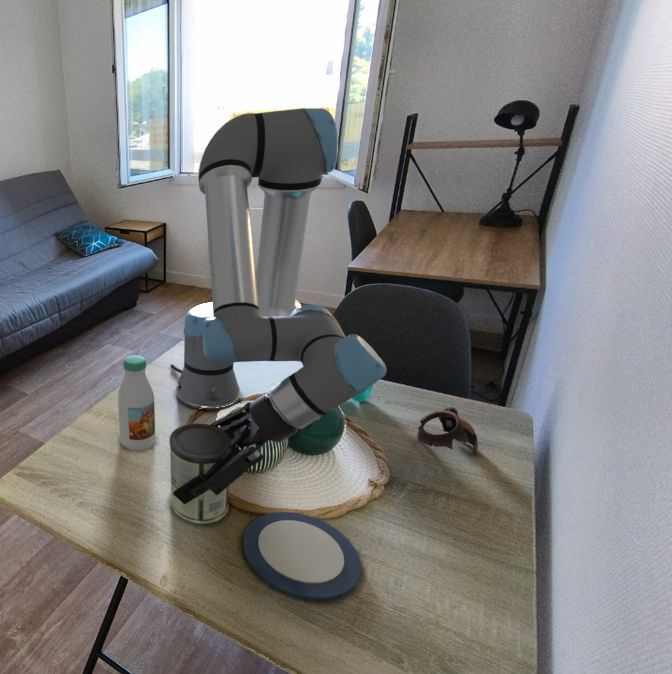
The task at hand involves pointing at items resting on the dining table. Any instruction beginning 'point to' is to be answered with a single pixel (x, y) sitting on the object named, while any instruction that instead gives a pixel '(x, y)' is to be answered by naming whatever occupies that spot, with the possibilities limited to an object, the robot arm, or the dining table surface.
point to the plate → (301, 556)
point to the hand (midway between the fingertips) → (182, 477)
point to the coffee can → (197, 470)
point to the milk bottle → (136, 406)
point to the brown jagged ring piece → (448, 430)
